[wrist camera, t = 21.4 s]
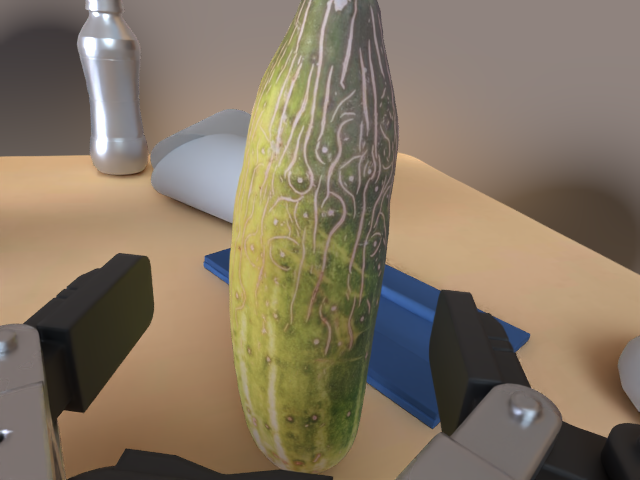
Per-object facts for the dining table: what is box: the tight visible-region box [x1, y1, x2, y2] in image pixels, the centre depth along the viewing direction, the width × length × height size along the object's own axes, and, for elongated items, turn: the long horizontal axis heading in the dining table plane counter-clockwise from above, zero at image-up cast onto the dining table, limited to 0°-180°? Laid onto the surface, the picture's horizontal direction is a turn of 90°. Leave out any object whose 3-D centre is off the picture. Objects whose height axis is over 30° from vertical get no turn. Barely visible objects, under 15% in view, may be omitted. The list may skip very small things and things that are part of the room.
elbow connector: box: [151, 109, 251, 223], centre depth 51 cm, size 18×10×20 cm
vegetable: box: [229, 0, 399, 474], centre depth 18 cm, size 6×6×20 cm
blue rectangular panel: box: [204, 248, 530, 429], centre depth 35 cm, size 22×12×1 cm, turn 44°
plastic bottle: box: [77, 0, 149, 175], centre depth 54 cm, size 6×7×20 cm
